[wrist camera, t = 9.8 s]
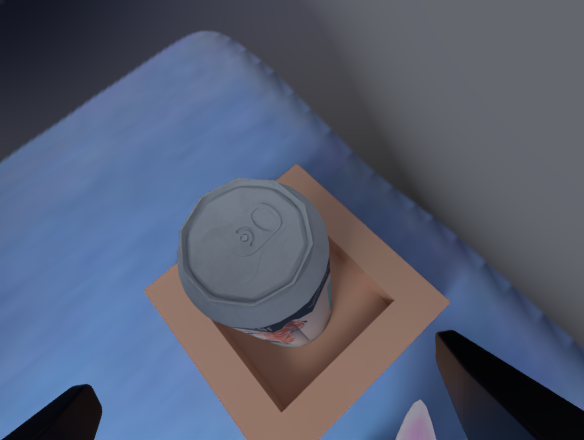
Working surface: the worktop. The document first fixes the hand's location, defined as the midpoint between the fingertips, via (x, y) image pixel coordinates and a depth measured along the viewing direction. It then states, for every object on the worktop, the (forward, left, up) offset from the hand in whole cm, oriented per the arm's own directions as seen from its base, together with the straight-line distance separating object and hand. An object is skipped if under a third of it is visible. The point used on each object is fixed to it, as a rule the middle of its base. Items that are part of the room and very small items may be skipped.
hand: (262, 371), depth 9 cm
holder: (+3, -2, -12) cm, 13 cm away
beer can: (+3, -2, -12) cm, 12 cm away
